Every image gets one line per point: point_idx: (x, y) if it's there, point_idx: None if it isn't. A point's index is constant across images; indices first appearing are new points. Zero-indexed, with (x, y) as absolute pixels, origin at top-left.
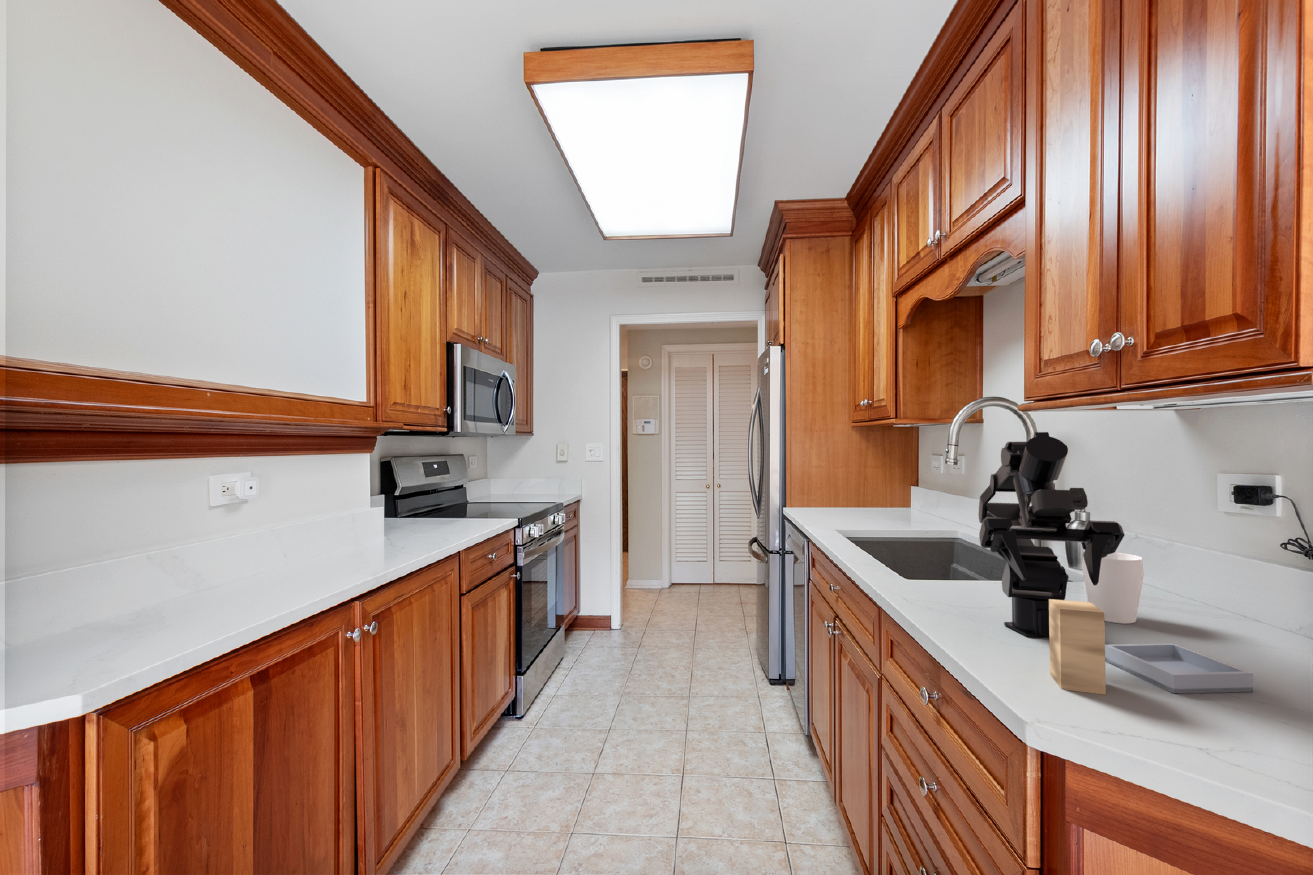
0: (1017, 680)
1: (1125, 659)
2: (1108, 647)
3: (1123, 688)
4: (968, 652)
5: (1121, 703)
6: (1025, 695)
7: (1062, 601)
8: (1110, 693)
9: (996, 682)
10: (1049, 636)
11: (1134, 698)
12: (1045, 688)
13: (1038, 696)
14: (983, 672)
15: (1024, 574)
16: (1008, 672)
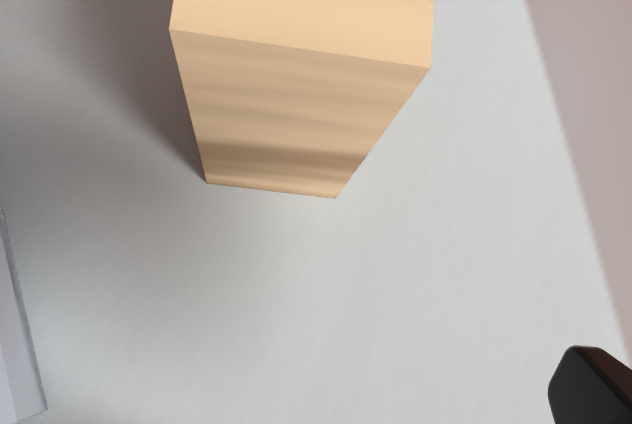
0: (457, 120)
1: (3, 300)
2: (13, 396)
3: (135, 125)
4: None
5: None
6: (463, 15)
7: (360, 21)
8: None
9: (522, 91)
10: (366, 155)
11: (145, 52)
12: None
13: None
14: (546, 165)
15: (603, 359)
16: (468, 183)
